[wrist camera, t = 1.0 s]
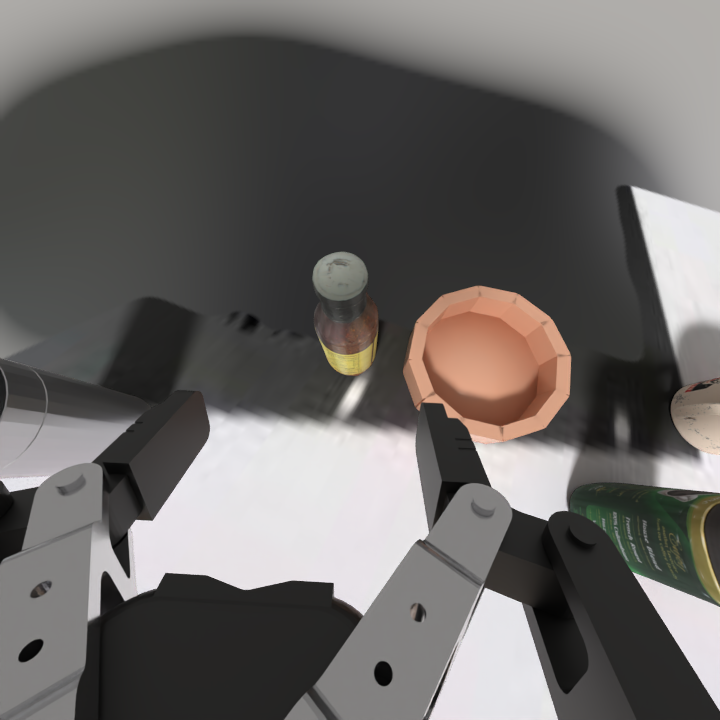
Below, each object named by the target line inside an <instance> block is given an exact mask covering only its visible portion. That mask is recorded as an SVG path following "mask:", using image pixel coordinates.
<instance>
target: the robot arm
mask: <svg viewBox="0 0 720 720" xmlns="http://www.w3.org/2000/svg"><path fill="white" fill-rule="evenodd" d="M209 432H210V425H209V420H208V416H207V412H206V407H205V403H204V399H203V395H202V393H201V392H199V391H186V390H177V391H175V392H174V393H173V394H172V395H170V396H169V397H168V398H167V399H166V400H165V401H164V402H163V403H160V404H158V405H156V406H154V407H153V408H151V407H150V406H149V404H147V403H146V402H145V401H144V400H142V399H140V398H138V397H136V396H132V395H129V394H125V393H122V392H118V391H115V390H112V389H108V388H105V387H101V386H98V385H94V384H91V383H87V382H84V381H80V380H77V379H73V378H70V377H66V376H63V375H59V374H56V373H52V372H49V371H45V370H42V369H38V368H35V367H31V366H28V365H24V364H21V363H16V362H13V361H9V360H6V359H2V358H0V479H2V478H22V477H41V476H51V477H49V478H48V479H47V480H45V481H44V482H43V483H42V484H41V485H40V486H39V487H35V488H30V489H25V490H19V491H14V492H9V491H8V490H7V488H6V487H5V485H4V484H3V482H2V481H0V720H429V719H430V717H431V714H432V712H433V710H434V707H435V705H436V703H437V700H438V698H439V696H440V693H441V691H442V689H443V686H444V684H445V682H446V679H447V677H448V674H449V672H450V670H451V667H452V665H453V662H454V660H455V657H456V655H457V652H458V650H459V648H460V645H461V643H462V641H463V638H464V636H465V634H466V631H467V629H468V627H469V624H470V622H471V620H472V617H473V615H474V613H475V610H476V608H477V606H478V603H479V601H480V599H481V596H482V594H483V592H484V589H485V588H487V589H490V590H492V591H495V592H497V593H500V594H502V595H505V596H507V597H509V598H512V599H514V600H517V601H519V602H522V605H523V608H524V611H525V614H526V618H527V621H528V624H529V627H530V630H531V634H532V637H533V640H534V643H535V646H536V650H537V653H538V656H539V659H540V662H541V666H542V669H543V672H544V675H545V678H546V682H547V685H548V688H549V691H550V695H551V698H552V701H553V704H554V707H555V711H556V714H557V717H558V720H720V711H719V709H718V708H717V706H716V704H715V703H714V701H713V700H712V698H711V697H710V695H709V693H708V692H707V690H706V689H705V687H704V685H703V684H702V682H701V681H700V679H699V678H698V676H697V674H696V673H695V671H694V670H693V668H692V666H691V665H690V663H689V662H688V660H687V658H686V657H685V655H684V654H683V652H682V651H681V649H680V647H679V646H678V644H677V643H676V641H675V639H674V638H673V636H672V635H671V633H670V632H669V630H668V628H667V627H666V625H665V624H664V622H663V620H662V619H661V617H660V616H659V614H658V613H657V611H656V609H655V608H654V606H653V605H652V603H651V601H650V600H649V598H648V597H647V595H646V593H645V592H644V590H643V589H642V587H641V586H640V584H639V582H638V581H637V579H636V578H635V576H634V574H633V573H632V571H631V570H630V568H629V567H628V565H627V563H626V562H625V560H624V559H623V557H622V555H621V554H620V552H619V551H618V549H617V548H616V546H615V544H614V543H613V541H612V540H611V538H610V537H609V536H608V534H607V533H606V532H605V531H604V530H603V529H602V528H601V527H600V526H598V525H597V524H596V523H594V522H593V521H591V520H590V519H588V518H586V517H584V516H582V515H580V514H577V513H573V512H568V511H560V512H556V513H554V514H552V515H551V517H550V518H549V520H548V521H546V520H543V519H540V518H537V517H534V516H531V515H528V514H525V513H522V512H519V511H517V510H515V509H513V508H511V507H510V504H509V503H508V501H507V500H506V499H505V497H504V496H503V495H502V494H500V493H499V492H498V491H496V490H495V489H493V488H492V487H491V485H490V483H489V480H488V478H487V475H486V473H485V470H484V468H483V465H482V463H481V460H480V458H479V455H478V453H477V451H476V448H475V445H474V443H473V441H472V438H471V436H470V433H469V431H468V428H467V427H466V426H465V425H464V424H463V423H462V422H461V421H460V420H459V419H458V418H448V416H447V413H446V410H445V407H444V405H443V404H442V403H425V402H422V403H421V406H420V412H419V419H418V426H417V433H416V455H417V462H418V468H419V474H420V480H421V486H422V492H423V498H424V504H425V510H426V516H427V522H428V528H429V534H428V536H427V537H426V539H425V540H424V541H422V540H420V539H419V540H418V541H417V542H415V544H414V545H413V546H412V547H411V549H410V550H409V552H408V553H407V555H406V556H405V557H404V559H403V560H402V562H401V563H400V565H399V566H398V567H397V569H396V570H395V572H394V573H393V575H392V576H391V577H390V579H389V580H388V582H387V583H386V585H385V586H384V587H383V589H382V590H381V592H380V593H379V595H378V596H377V598H376V599H375V600H374V602H373V603H372V605H371V606H370V608H369V609H368V610H367V612H366V613H365V615H364V616H363V615H362V614H361V613H360V612H359V611H358V610H356V609H355V608H354V607H352V606H351V605H349V604H347V603H346V602H344V601H342V600H340V599H337V598H335V597H334V583H324V582H307V581H288V582H283V583H279V584H274V585H270V586H265V587H260V588H256V589H251V590H242V589H239V588H237V587H234V586H232V585H229V584H227V583H224V582H222V581H219V580H217V579H214V578H212V577H209V576H206V575H190V574H173V573H165V575H164V577H163V579H162V580H161V582H160V584H159V586H158V588H157V589H153V590H150V591H147V592H144V593H141V594H139V595H138V593H137V587H136V576H135V562H134V548H133V534H132V531H131V529H130V527H131V525H132V524H133V523H134V521H135V520H150V521H153V519H154V518H155V516H156V515H157V513H158V512H159V510H160V509H161V507H162V506H163V505H164V503H165V502H166V500H167V499H168V497H169V496H170V494H171V493H172V491H173V490H174V488H175V487H176V485H177V484H178V483H179V481H180V480H181V478H182V477H183V475H184V474H185V472H186V471H187V469H188V468H189V466H190V465H191V464H192V462H193V461H194V459H195V458H196V456H197V455H198V453H199V452H200V450H201V449H202V447H203V446H204V445H205V443H206V441H207V439H208V437H209Z"/></svg>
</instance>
